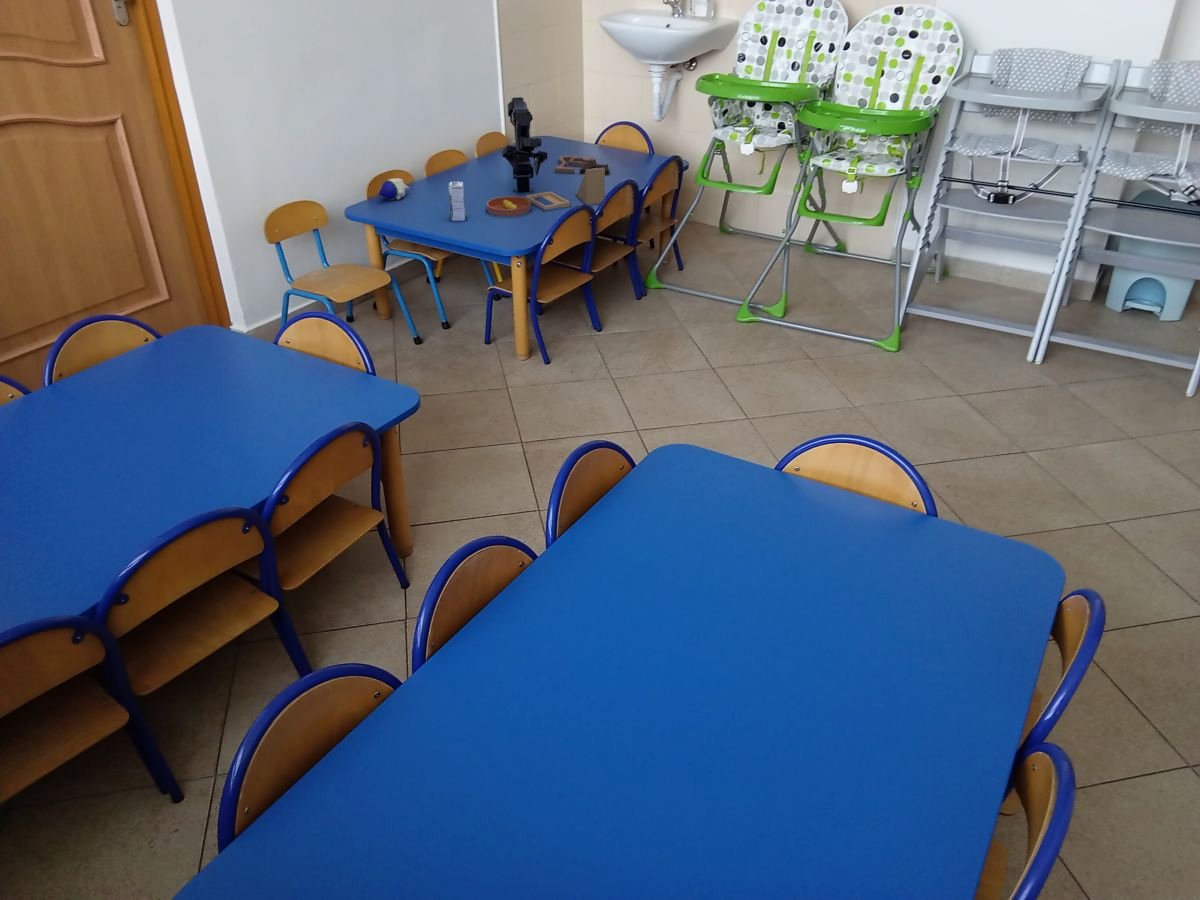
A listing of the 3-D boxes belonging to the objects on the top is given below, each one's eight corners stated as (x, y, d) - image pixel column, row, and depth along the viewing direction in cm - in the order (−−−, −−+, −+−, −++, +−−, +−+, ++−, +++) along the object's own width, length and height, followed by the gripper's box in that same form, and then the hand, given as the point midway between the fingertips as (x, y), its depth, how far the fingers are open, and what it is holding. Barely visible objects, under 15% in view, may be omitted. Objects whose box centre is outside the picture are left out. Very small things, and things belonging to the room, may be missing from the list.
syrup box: (451, 216, 369) (448, 181, 361) (466, 216, 369) (463, 181, 362) (451, 221, 364) (447, 185, 356) (465, 220, 365) (462, 185, 357)
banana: (499, 206, 379) (499, 198, 377) (507, 204, 381) (506, 197, 379) (511, 213, 371) (511, 205, 369) (519, 212, 372) (518, 204, 370)
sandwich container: (594, 192, 397) (594, 158, 388) (605, 202, 384) (605, 167, 376) (575, 194, 394) (575, 160, 386) (586, 204, 382) (585, 169, 374)
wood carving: (608, 175, 420) (616, 161, 439) (608, 170, 419) (616, 157, 438) (550, 172, 424) (560, 159, 444) (550, 167, 423) (560, 155, 442)
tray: (525, 200, 388) (525, 195, 387) (550, 195, 393) (550, 191, 392) (544, 211, 375) (544, 206, 374) (569, 206, 380) (569, 201, 379)
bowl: (480, 208, 379) (479, 200, 377) (518, 201, 387) (518, 193, 385) (498, 220, 365) (498, 212, 364) (538, 212, 373) (538, 205, 372)
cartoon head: (411, 199, 398) (384, 210, 383) (395, 185, 399) (367, 196, 383) (418, 183, 393) (391, 194, 377) (402, 170, 394) (374, 180, 378)
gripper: (511, 125, 359) (514, 162, 357) (552, 132, 368) (555, 168, 366) (499, 138, 368) (503, 173, 366) (540, 144, 378) (543, 179, 376)
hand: (526, 173), depth 368 cm, fingers open, 9 cm apart
